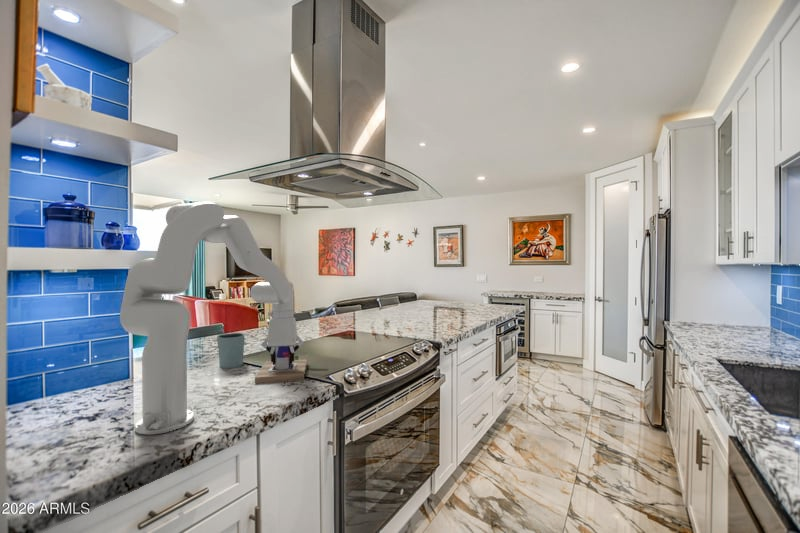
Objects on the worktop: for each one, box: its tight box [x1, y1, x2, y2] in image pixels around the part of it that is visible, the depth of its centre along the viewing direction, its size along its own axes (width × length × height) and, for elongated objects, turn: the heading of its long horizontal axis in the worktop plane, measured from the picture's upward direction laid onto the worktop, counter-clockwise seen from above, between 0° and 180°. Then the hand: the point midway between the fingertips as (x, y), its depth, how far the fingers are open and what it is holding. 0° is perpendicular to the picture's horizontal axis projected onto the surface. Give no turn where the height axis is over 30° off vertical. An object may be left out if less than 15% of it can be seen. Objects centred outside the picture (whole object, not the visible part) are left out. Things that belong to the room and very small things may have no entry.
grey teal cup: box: [216, 332, 245, 369], centre depth 144 cm, size 10×10×12 cm
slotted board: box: [254, 359, 308, 384], centre depth 133 cm, size 20×16×2 cm
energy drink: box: [275, 346, 290, 370], centre depth 133 cm, size 5×5×12 cm
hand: (282, 363), depth 133 cm, fingers closed on energy drink, 5 cm apart
